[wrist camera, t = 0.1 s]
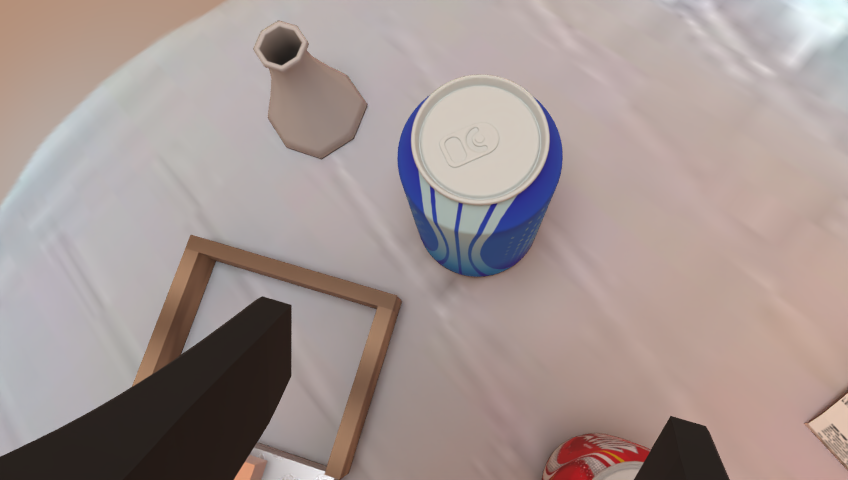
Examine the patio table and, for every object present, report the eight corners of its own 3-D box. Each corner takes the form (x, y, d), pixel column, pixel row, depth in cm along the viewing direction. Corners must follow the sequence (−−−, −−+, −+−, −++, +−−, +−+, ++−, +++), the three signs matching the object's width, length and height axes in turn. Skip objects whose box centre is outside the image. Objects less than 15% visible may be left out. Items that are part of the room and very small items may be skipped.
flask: (384, 103, 48) (362, 32, 39) (323, 176, 47) (285, 122, 38) (313, 52, 50) (275, -29, 40) (252, 121, 49) (198, 56, 39)
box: (348, 473, 43) (339, 479, 40) (147, 405, 45) (124, 406, 42) (401, 301, 45) (396, 295, 42) (208, 244, 47) (190, 234, 44)
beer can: (436, 154, 47) (419, 40, 32) (548, 181, 46) (587, 77, 30) (405, 262, 45) (370, 198, 30) (520, 293, 44) (546, 243, 29)
